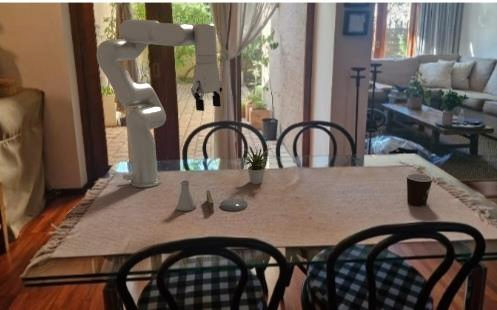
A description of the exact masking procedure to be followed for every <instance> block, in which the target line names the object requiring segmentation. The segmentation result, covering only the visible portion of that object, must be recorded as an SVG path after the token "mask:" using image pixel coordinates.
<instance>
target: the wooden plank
mask: <svg viewBox="0 0 497 310" xmlns="http://www.w3.org/2000/svg"><path fill="white" fill-rule="evenodd" d="M206 202H207V205H208V210H209V213H210V214H214V213H215V212H214V211H215V210H214V200H213V196H212V193H211V190H210V189H209V190H208V189H207V190H206Z"/></svg>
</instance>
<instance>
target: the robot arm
mask: <svg viewBox="0 0 497 310" xmlns="http://www.w3.org/2000/svg"><path fill="white" fill-rule="evenodd" d="M118 32H119V34H120V36H121V38H111V39H106V40H104V41H102V42H100V43H99V45H98V47H97V49H96V60H97V64H98V66H99V68H100V69H101V71H102V72H103V74H104V75H105V77H106V79H107V80H108V81H109V84H110V86H111V87H112V90H113V92H114V94H115V95H116V98H117V99H118V102H119V103H120V104H121V106H123V107H124V108H128V109H129V108H135V107H136V108H135V109H132V110H130V112H128V114H127V116H126V121H125V122H126V126H127V129H128V133H129V138H130V145H131V146H130V147H131V155H132V166H133V167H132V168H133V172H132V173H130V174H129V173H127V174H122V177H123V178H122V179H123V180H125V181H130V184H131V186H132V187H135V188H151V187H155V186H158V185H160V184H161V183H162V177H160V176H159V175H158V166H157V153H156V152H157V149H156V141H155V137H154V135H153V134H152V132H151V130H153V129H158V128H160V127H162V126H163V125H164V124H165V123H166V121H167V114H166V111H165V108H164V107H163V105H162V103H161V101H160V99H159V97H158V94H157V93H156V91H155V89H154V88H153V87H152V85H150V84H149V83H148V82H145V81H137V82H135V81H134V79H133V78H132V77H131V74H130V72H129V71H128V70H127V68H126V67H124V66H123V65H122V64H121V63H120V62H124V61H133V60H136V59H137V58H138V57H140V56H141V54H142V53H143V52H144V51H145V50H146V49H147V47H148V46H149V45H156V46H159V45H160V46H168V47H185V46H187V47H188V46H194V54H195V55H194V56H195V64H194V68H193V81H192V83H193V85H192V86H191V87H190V91H191V93H192V96H193V97H194V98H193V99H194V100H195V109H196V111H198V112H200V111H201V112H204V111H205V101H204V99H203V98H204V95H205V94H210V93H212V94H213V95H212V106H213V107H217V108H219V107H221V96H222V92H223V86H224V82H222V81H221V79H220V71H219V66H218V54H217V52H218V51H217V48H218V47H217V29H216V26H215V24H213V23H196V24H195V23H171V22H170V23H168V22H159V21H158V20H153V19H152V20H151V19H149V20H148V19H147V20H146V19H134V18H133V19H126V20H124V21H123V22H122V23H121V24H120V26H119V29H118ZM137 107H138V108H137Z"/></svg>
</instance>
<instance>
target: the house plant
mask: <svg viewBox="0 0 497 310" xmlns="http://www.w3.org/2000/svg"><path fill="white" fill-rule="evenodd" d="M258 146H259V144H258V145H257V147H256V149H255V150H256V151H255V152H254V150H253V148H252V146H251V145H249V146H248V148H249V150H248V149H247V148H246V147H244V146H240V148H243V149H244V152H243V154H244V155H245V156H246V157H244V158H243V160H244V162H245V166H248V165H249V166H248V167H247V171H248V176H249V182H250V183H251V184H254V185H260V184H262V183H263V182H264V176H265V175H264V174H265V169H266V168H265V165H266V162H267V161H268V160H269V159H270V157H269V158H267V157H264V156H265V155H266V153H267V152H268V151H269V150H270V149H272V147H271V148H270V147H269V148H267V149H266V150H265V151H264V152H263V153H262V148H259V150H258ZM249 151H250V153H251V154H250V153H249ZM245 152H246V153H245ZM263 157H264V158H263ZM250 158H251V159H250Z"/></svg>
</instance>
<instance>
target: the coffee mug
mask: <svg viewBox="0 0 497 310" xmlns="http://www.w3.org/2000/svg"><path fill="white" fill-rule="evenodd" d="M432 183H433V177H432V176H430V175H429V174H423V173H414V172H413V173H409V174H407V175H406V197H407V198H406V199H407V200H406V201H407V204H408V205H410V206H413V207H420V208H422V207H425V206H427V204H428V203H427V202H428V198H429V195H430V191H431V186H432Z"/></svg>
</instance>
